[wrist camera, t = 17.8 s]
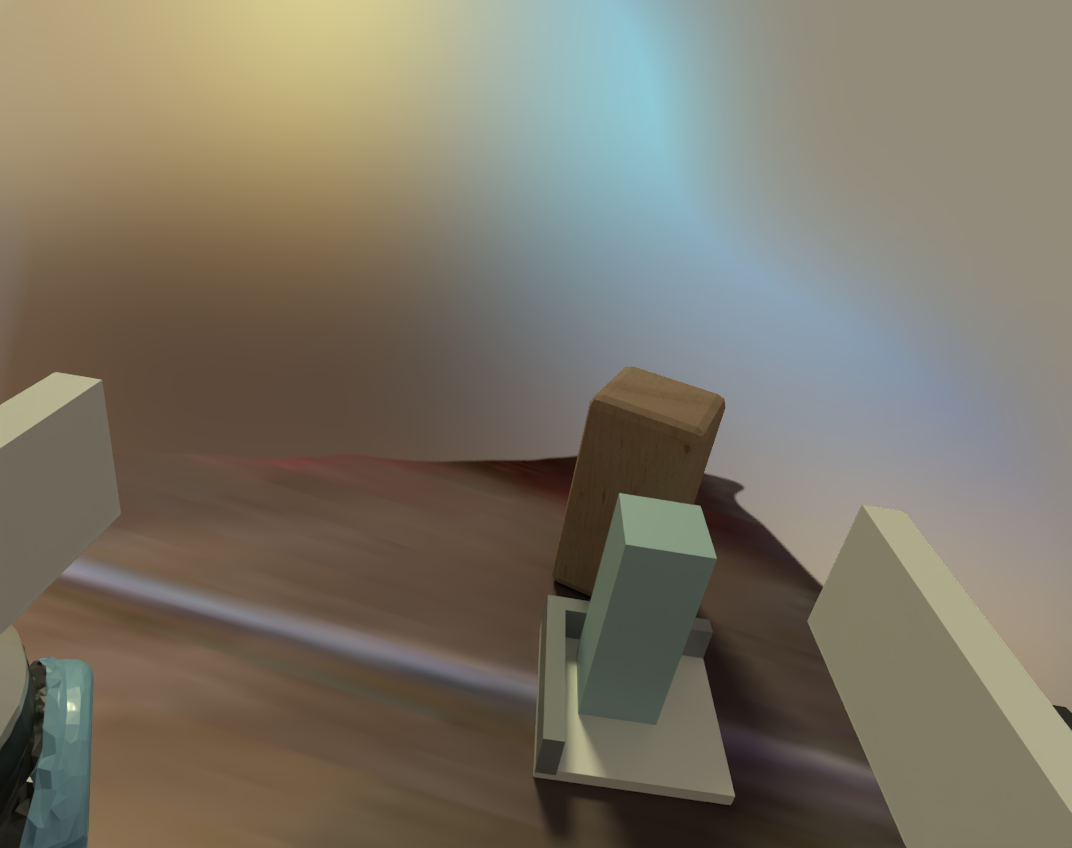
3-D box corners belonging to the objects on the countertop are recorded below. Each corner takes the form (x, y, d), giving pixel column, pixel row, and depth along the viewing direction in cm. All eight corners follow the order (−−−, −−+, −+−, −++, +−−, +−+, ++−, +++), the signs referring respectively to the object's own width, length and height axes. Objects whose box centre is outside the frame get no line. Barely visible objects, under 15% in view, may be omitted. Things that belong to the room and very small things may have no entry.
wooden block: (645, 626, 62) (706, 435, 53) (546, 581, 65) (588, 394, 56) (673, 567, 71) (730, 394, 61) (584, 530, 74) (626, 360, 65)
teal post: (577, 713, 51) (625, 544, 44) (576, 653, 57) (619, 492, 49) (656, 725, 52) (716, 558, 44) (647, 663, 57) (700, 506, 50)
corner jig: (533, 776, 47) (543, 738, 45) (540, 629, 60) (547, 594, 58) (730, 805, 48) (748, 768, 46) (696, 653, 60) (709, 619, 58)
